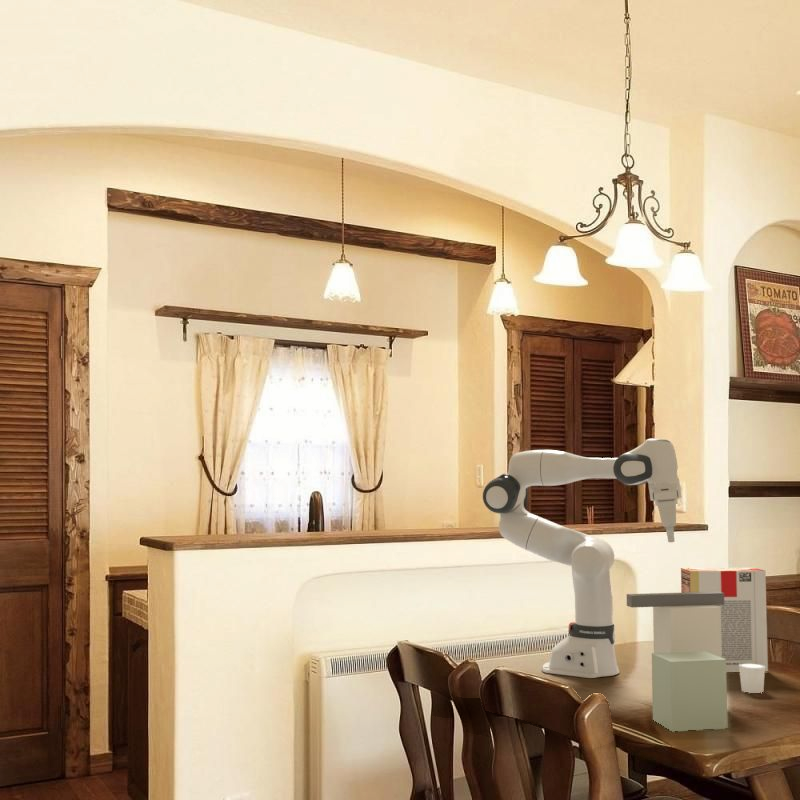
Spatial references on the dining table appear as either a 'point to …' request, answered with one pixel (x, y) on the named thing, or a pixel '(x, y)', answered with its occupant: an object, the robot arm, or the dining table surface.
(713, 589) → the pasta box
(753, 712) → the dining table surface
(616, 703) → the dining table surface
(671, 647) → the tall stand
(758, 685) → the shot glass
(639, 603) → the charcoal bar
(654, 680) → the low stand
